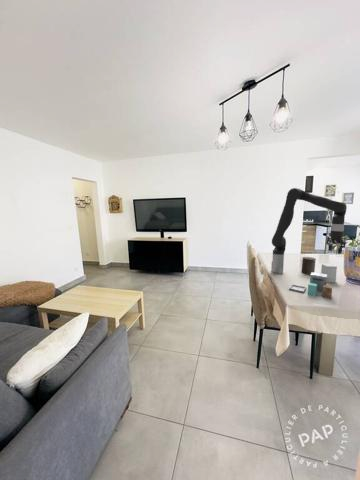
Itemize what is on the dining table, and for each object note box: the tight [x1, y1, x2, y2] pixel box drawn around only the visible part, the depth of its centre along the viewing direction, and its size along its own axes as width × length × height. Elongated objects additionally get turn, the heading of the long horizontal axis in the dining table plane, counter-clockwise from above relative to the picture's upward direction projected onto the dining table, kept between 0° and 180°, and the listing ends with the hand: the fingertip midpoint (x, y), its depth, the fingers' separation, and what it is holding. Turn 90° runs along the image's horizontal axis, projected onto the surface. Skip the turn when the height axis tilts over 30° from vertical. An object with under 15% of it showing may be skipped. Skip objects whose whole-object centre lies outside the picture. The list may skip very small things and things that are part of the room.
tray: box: [288, 284, 307, 294], centre depth 138 cm, size 9×9×1 cm
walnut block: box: [322, 284, 333, 300], centre depth 125 cm, size 4×4×7 cm
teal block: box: [307, 282, 318, 297], centre depth 130 cm, size 4×4×7 cm
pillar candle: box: [301, 256, 316, 275], centre depth 170 cm, size 10×10×15 cm
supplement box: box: [320, 263, 338, 283], centre depth 152 cm, size 7×7×13 cm
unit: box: [309, 272, 328, 293], centre depth 136 cm, size 9×8×11 cm
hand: (334, 251), depth 143 cm, fingers open, 8 cm apart
